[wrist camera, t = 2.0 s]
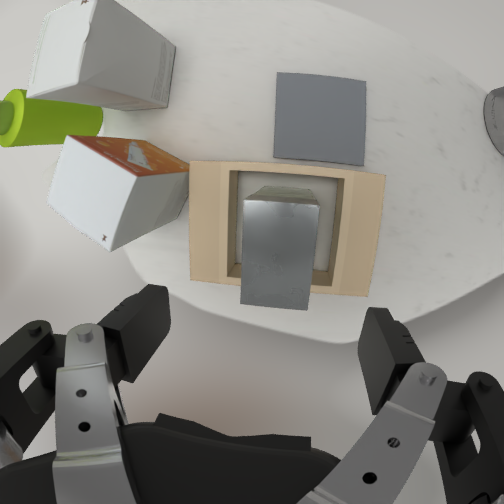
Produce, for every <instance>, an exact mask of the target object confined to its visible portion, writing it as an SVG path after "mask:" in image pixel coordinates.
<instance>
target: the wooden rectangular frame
mask: <svg viewBox="0 0 504 504" xmlns="http://www.w3.org/2000/svg"><path fill="white" fill-rule="evenodd" d="M238 170H240V171H261V172H278V173H292V174H304V175H316V176H326V177H335V178H338V186H337V198H336V208H335V218H334V227H333V236H332V244H331V252H330V260H329V267H328V272H327V271H315V270H313V272H312V280H311V288H310V293H322V294H335V295H349V296H363V297H367V296H368V292H369V287H370V282H371V277H372V272H373V267H374V261H375V255H376V250H377V243H378V237H379V230H380V223H381V216H382V208H383V199H384V189H385V179H386V175H382V174H375V173H368V172H361V171H353V170H345V169H336V168H327V167H317V166H306V165H293V164H279V163H261V162H236V161H190V168H189V249H190V280H193V281H202V282H210V283H219V284H228V285H237V286H241V267H242V264H238V263H235V250H236V217H237V188H238Z"/></svg>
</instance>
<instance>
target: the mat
mask: <svg viewBox="0 0 504 504" xmlns="http://www.w3.org/2000/svg"><path fill="white" fill-rule="evenodd" d="M365 132H366V81H361V80H354V79H348V78H340V77H332V76H323V75H313V74H300V73H281V72H277V87H276V112H275V135H274V156H273V157H276V158H291V159H304V160H315V161H325V162H334V163H343V164H351V165H359V166H364V153H365Z"/></svg>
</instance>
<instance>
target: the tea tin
mask: <svg viewBox="0 0 504 504" xmlns="http://www.w3.org/2000/svg"><path fill="white" fill-rule="evenodd" d="M319 206H320V205H319V204H318V202H317V200H315V199H314V197H313V195H312V193H311V191H310V190H309V189H299V188H286V187H272V186H265V187H263V188H262V189H260V190H259V191H257V192H256V193H255V194H253V195H250V196H249V197H247V198H246V199H244V212H243V238H242V267H241V299H240V304H246V305H255V306H264V307H274V308H284V309H295V310H307V309H308V302H309V295H310V288H311V280H312V272H313V264H314V256H315V247H316V237H317V228H318V217H319Z"/></svg>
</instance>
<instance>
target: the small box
mask: <svg viewBox="0 0 504 504" xmlns="http://www.w3.org/2000/svg"><path fill="white" fill-rule="evenodd" d="M189 168H190V165H189V164H187V163H185V162H183V161H181V160H180V159H178V158H176V157H174V156H172V155H170V154H168V153H167V152H165V151H163V150H161V149H159V148H157V147H156V146H154V145H152V144H150V143H148V142H147V141H144V140H135V139H123V138H111V137H98V136H79V135H67V136H66V138H65V141H64V144H63V147H62V150H61V153H60V156H59V159H58V162H57V165H56V169H55V172H54V175H53V179H52V182H51V186H50V190H49V194H48V198H47V201H46V203H47V204H48V205H49V206H50V207H51V208H52V209H53V210H55V211H56V212H57V213H58V214H59V215H60V216H62V217H63V218H64V219H65V220H66V221H68V222H69V223H70V224H71V225H72V226H73V227H74V228H76V229H77V230H78V231H80V232H81V233H83V234H85V235H86V236H88V237H89V238H90V239H91V240H93V241H94V242H96V243H97V244H99V245H100V246H101V247H103V248H104V249H105V250H107V251H108V252H112V251H114V250H115V249H117V248H119V247H121V246H123V245H125V244H127V243H129V242H131V241H133V240H135V239H137V238H139V237H141V236H142V235H144V234H146V233H149V232H150V231H153V230H155V229H157V228H159V227H161V226H163V225H165V224H167V223H169V222H171V221H173V220H175V219H177V217H178V214H179V213H180V210H181V208H182V206H183V204H184V202H185V200H186V198H187V196H188V194H189Z"/></svg>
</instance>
